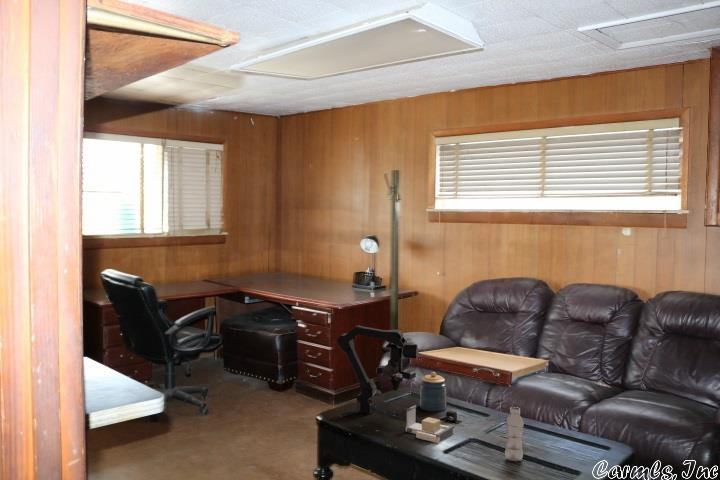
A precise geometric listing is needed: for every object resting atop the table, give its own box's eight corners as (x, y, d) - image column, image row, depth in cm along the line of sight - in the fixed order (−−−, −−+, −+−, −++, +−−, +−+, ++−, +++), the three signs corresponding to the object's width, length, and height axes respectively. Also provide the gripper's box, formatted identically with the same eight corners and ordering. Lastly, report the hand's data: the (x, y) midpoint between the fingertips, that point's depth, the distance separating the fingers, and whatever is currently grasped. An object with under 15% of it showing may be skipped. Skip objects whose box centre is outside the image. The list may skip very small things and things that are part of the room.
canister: (415, 404, 298) (416, 369, 297) (440, 402, 301) (440, 368, 300) (424, 412, 285) (425, 376, 285) (450, 411, 288) (450, 374, 288)
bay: (416, 437, 252) (416, 430, 252) (432, 428, 264) (432, 420, 264) (438, 443, 246) (438, 435, 246) (454, 433, 258) (454, 425, 258)
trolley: (404, 432, 259) (405, 409, 259) (414, 426, 266) (415, 404, 266) (437, 440, 250) (437, 416, 250) (447, 434, 257) (447, 411, 257)
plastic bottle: (502, 456, 233) (503, 406, 232) (519, 456, 233) (520, 405, 233) (508, 463, 226) (509, 411, 226) (525, 463, 227) (526, 411, 226)
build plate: (467, 422, 273) (467, 412, 273) (459, 426, 268) (459, 416, 268) (443, 416, 281) (443, 407, 281) (435, 420, 276) (435, 410, 275)
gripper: (369, 357, 278) (369, 391, 278) (404, 363, 267) (403, 398, 267) (382, 353, 287) (382, 385, 287) (416, 359, 276) (416, 392, 276)
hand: (395, 390), depth 279 cm, fingers closed
